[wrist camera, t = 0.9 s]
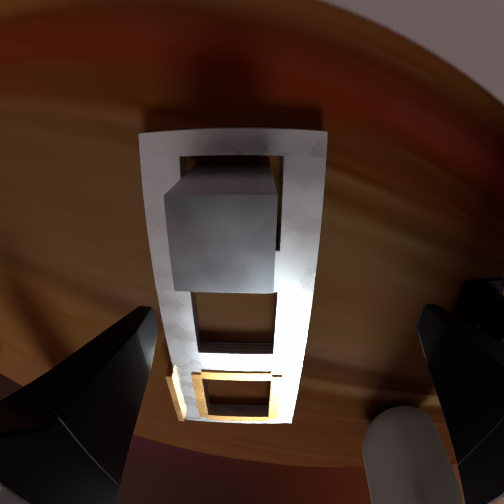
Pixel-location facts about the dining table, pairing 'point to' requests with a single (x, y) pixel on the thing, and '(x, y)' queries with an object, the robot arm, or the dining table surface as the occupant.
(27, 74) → the dining table surface
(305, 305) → the white flat frame
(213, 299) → the dining table surface
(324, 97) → the dining table surface
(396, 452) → the glass bottle
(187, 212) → the steel block
